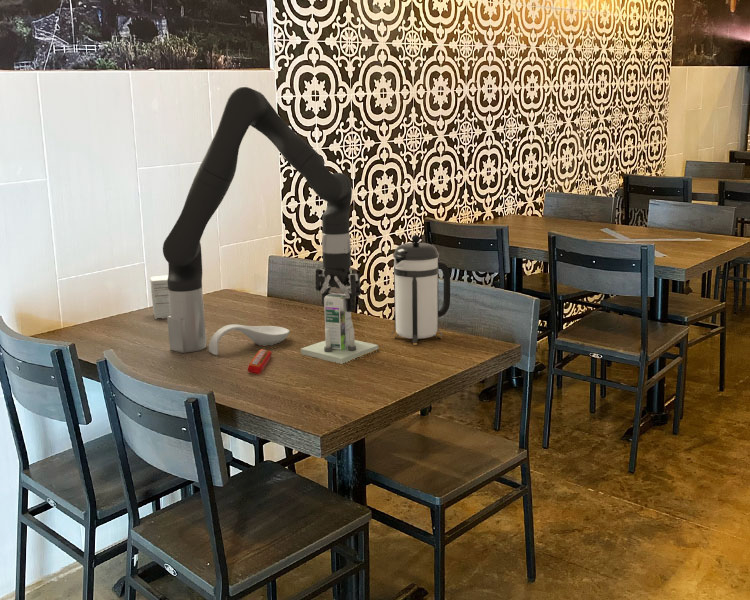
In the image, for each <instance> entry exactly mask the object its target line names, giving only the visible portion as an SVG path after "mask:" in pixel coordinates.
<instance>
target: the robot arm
mask: <svg viewBox="0 0 750 600" xmlns="http://www.w3.org/2000/svg"><path fill="white" fill-rule="evenodd" d="M250 126H251V127H252V128H253V129H256V131H258V132H259V133H261V134H263V135H264V136H265V137H266V138H267V139H268V140H269V141H270V142H271V143H272V144H273V146H274V147H276V149H277V151H278V152H279V153H280V154H281V155H282V157H283V158H284V159H285V160H286V161H287V162H288V164H290V165H291V166H292V167H293V168H294V169H295V170H296V171H297V173H299V174H300V175H302V176H303V177H304V179H305V180H306V182H307V183H308V185H309V186H310V188H311V189H312V191H314V193H315V194H316V195H317V196H318V197H319V198H320V199H322V200H323V201H325V202H327V203H326V209H325V211H324V212H323V213H322V217H321V219H322V224H321V225H322V240H321V248H322V249H321V250H322V251H321V252H322V267H321V268H317V269H315V290H316V291H319V292H320V293H321V303H322V307H323V308H324V297H325V296H327V295H328V294H331V290H332V288H336V289H340V290H341V292H342V293H343V294H345V295H346V297H347V298H346V311H347V312H351V313H353V311H354V310H355V308H356V305H355V300H356V299H355V298H356V297H359V296H361V295H362V291H361V290H362V289H361V278H360V276H361V275H360V274H359V272H358V273H351V270H350V268H351V266H352V249H351V246H352V244H351V236H350V219H349V217H350V216H349V215H350V211H351V210H350V209H351V203H352V195H353V187H352V183H351V180H350V178H349V177H348V175H346V174H345V173H343V172H335V173H332V172H331V171H330V170H329V169H328V168H327V167H326V166H325V164H326V163H325V160H324V158H323V157H322V156H321V155H320V154H319V152H317V150H315V149H314V148H313V147H312V146H311V145H310V144H308V143H307V141H306V140H304V139H303V138H302V137H301V136H300V135H299V134H297V133H296V132H295V130H293V129H292V128H291V127H290V126H289V125H288V124H287V123H286V122H285V121H284V120H283V118H282V117H281V116H280V115H279V114H278V112H277V111H276V110H275V108H273V106H272V104H271V103H270V102H269V101H268V99H267V98H266V96H265V95H264V94H263V93H262V92H260V91H258V90H256V89H253V88H252V87H251V88H250V87H248V86H240V87H237V88H236V89H234V90H233V91H232V92H231V94H230V95H229V96H228V98H227V101H226V104H225V106H224V109H223V112H222V115H221V118H220V121H219V124H218V127H217V129H216V132H215V134H214V136H213V138H212V140H211V142H210V144H209V146H208V148H207V150H206V153H205V155H204V157H203V159H202V161H201V163H200V166H199V167H198V169H197V172H196V174H195V176H194V178H193V181H192V183H191V185H190V188H189V190H188V193H187V196H186V199H185V201H184V205H183V208H182V211H181V213H180V215H179V216H178V218H177V220H176V222H175V223H174V226H173V227H172V229H171V231H170V232H169V234H168V235H167V237H166V238H165V240H164V241H163V243H162V255H163V256H164V259H165V261H166V262H167V263H168V274H167V275H168V281H167V282H168V294H169V306H170V316H168V317H167V318H166V319H167V332H168V341H169V343H168V344H169V350H171V351H175V352H179V353H182V354H185V353H193V352H198V351H201V350H203V349H206V348H207V337H206V335H207V333H206V322H205V307H204V297H203V295H204V294H203V258H202V256H203V254H202V245H201V239H202V238H203V237H202V236H203V234H204V231H205V229H206V227H207V225H208V223H209V222H210V220H211V219H212V217H213V215H214V214H215V212H216V211H217V209H218V208H219V206H220V205H221V203H222V201H223V200H224V198H225V196H226V194H227V192H228V191H229V189H230V186H231V184H232V181H233V180H234V178H235V174H236V170H237V165H238V158H239V150H240V147H241V144H242V141H243V140H244V137H245V135H246V133H247V131H248V130H249V127H250Z"/></svg>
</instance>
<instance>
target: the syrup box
mask: <svg viewBox="0 0 750 600" xmlns="http://www.w3.org/2000/svg"><path fill="white" fill-rule="evenodd" d="M346 298H347V297H346V295H345V293H333V292H332V293H331V292H330V294H328V295H327V296H325V297H324V307H323V308H324V310H323V311H324V312H323V313H324V330H325V329H330V337H331V346H332V349H337V350H345V349H347V348H348V346H349V328H351V322H352V312H347V311H346Z"/></svg>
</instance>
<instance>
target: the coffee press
mask: <svg viewBox="0 0 750 600" xmlns="http://www.w3.org/2000/svg"><path fill="white" fill-rule="evenodd" d="M411 240H412V242H407V243H403V244H400V245H398V246H397V247H396V248H395V251H394V252H393V253H392V257H393V260H394V261H393V286H394V287H393V290H394V291H393V293H394V295H393V298H394V299H393V300H394V301H393V302H394V304H393V305H394V306H393V307H394V330H393V331H392V333H391V335H393V334H394V333H395V332H396V333H397V335H396V336H397V337H399V336H400V337H402V338H406V339H412V344H413V343H417V341H418V342H419V339H420V340H422V339H428V338H431V337H435V336H436V334H437V332H438V333H439V334H440V335H441V337H442V336H443V337H444V335H443V333H442V332H441V330H440V327H439V325H440V319H439V318H441V317H443V316H444V315H446V313H447V312H448V310H449V308H450V304H451V274H450V269H449V267H448V266H447V264H445V263H443V262H439V261H438V260H439V257H440V253H439V252H438V250H437V248H436V246H435V245H433V244H430V243H426V242H420V240H421V237H420V236H419V235H417V234H414V235H412V238H411ZM439 270H440V271H441V272H442V274H443V275H442V277H443V303H442V307H441V308H439V302H440V301H439V298H440V296H439V284H440V283H439V280H440V279H439ZM439 309H440V310H439ZM391 335H390V336H391Z"/></svg>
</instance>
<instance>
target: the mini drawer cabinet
mask: <svg viewBox="0 0 750 600" xmlns="http://www.w3.org/2000/svg"><path fill="white" fill-rule="evenodd" d="M149 279H150V281H149V282H150V290H151V291H150V292H151V301H152V311H153V312H152V314H153V315H154V316H153V317H154V320H158V319H157V318H162V319H167V317H168V316H170V306H169V294H168V282H167V281H168V274H167V275H157V276H156V275H154V276H150V277H149Z"/></svg>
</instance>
